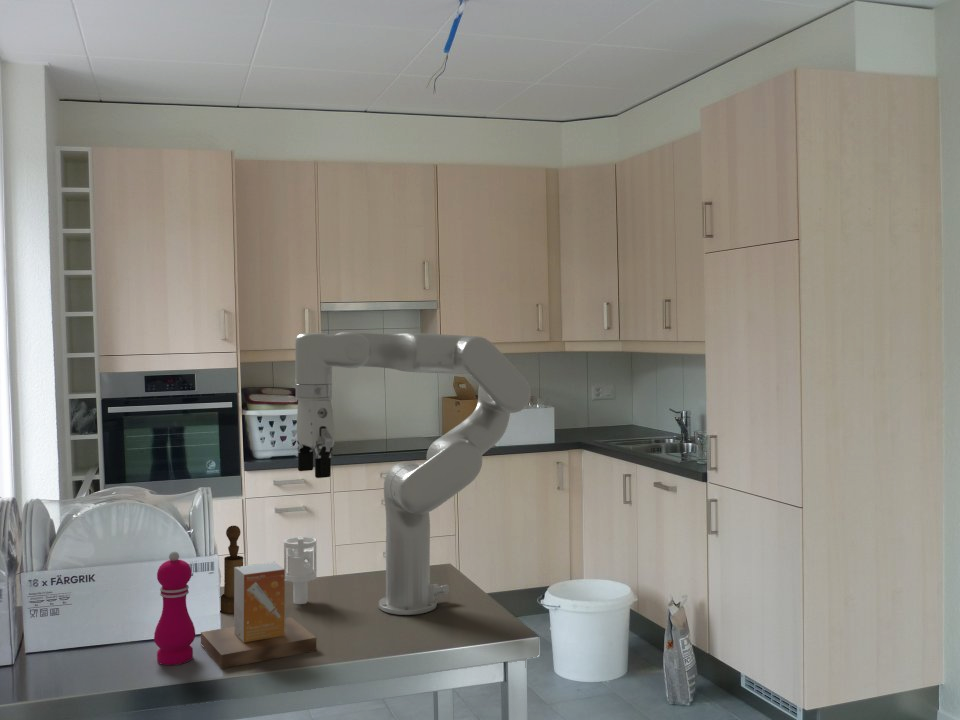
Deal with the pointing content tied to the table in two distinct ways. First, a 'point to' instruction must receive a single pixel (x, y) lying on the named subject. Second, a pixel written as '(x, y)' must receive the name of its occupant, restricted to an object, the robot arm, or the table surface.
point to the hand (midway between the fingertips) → (314, 473)
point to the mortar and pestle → (230, 569)
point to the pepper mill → (174, 613)
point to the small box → (259, 601)
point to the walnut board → (256, 645)
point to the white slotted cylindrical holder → (300, 565)
